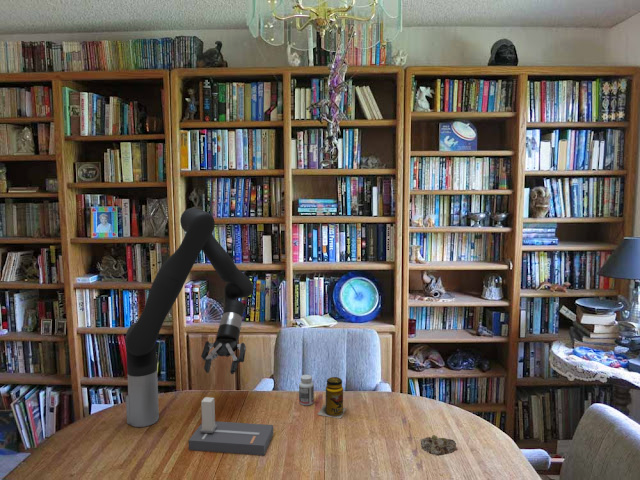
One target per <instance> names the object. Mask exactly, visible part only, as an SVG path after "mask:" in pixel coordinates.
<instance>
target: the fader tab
mask: <svg viewBox="0 0 640 480" xmlns="http://www.w3.org/2000/svg"><path fill="white" fill-rule="evenodd" d="M200 403H201V405H200V406H201V423H202V429H201V430H200V432H203V433H213V432H214V431H215V429H216V428H217V425H215V421H216V413H215V409H216V408H215V406H216V405H215V403H216V402H215V397H207V396H205V397H203V399H202V400H201V402H200Z"/></svg>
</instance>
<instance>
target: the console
mask: <svg viewBox="0 0 640 480" xmlns="http://www.w3.org/2000/svg"><path fill="white" fill-rule="evenodd" d="M215 425H217V428H216V429H215V431H214V432H213V433H203V432H200V430H201V429H202V422H201V424H200V425H199V426H198V427H197V428H196V430H195V431H194V433H193V434H192V436H191V437H190V438H189V439H188V450H189V451H197V452H198V451H199V452H213V453H226V454H240V455H242V454H243V455H255V456H265V454H266V452H267V450H268V447H269V446H270V443H271V440H272V438H273V436H274V424H265V423H264V424H261V423H246V422H245V423H244V422H232V421H231V422H229V421H218V420H217V421H216V420H215Z"/></svg>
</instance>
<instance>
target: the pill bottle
mask: <svg viewBox="0 0 640 480" xmlns="http://www.w3.org/2000/svg"><path fill="white" fill-rule="evenodd" d="M312 380H313V377H312V375H311V374H302V375H301V376H300V381H299V383H298V401H299V404H300V405H302V406H311V405H313V404H314V402H315V389H314V388H315V385H314V384H315V383H314V382H313V381H312Z"/></svg>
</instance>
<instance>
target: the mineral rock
mask: <svg viewBox="0 0 640 480" xmlns="http://www.w3.org/2000/svg"><path fill="white" fill-rule="evenodd" d="M419 441H420V446H421V448H422V449H423V451H424V452H425V451H427V452H426V453H428V452H429V453H428V454H431V455H433V454H435V455H434V456H437V455H445V454H450V453H449V452H451V453H453V452H454V451H456V449H457V443H456V442H455V440H454V439H451V438H446V437H438V436H437V435H435V434H432V436H431V437H430V436H427V437H424V438H421V439H420V440H419Z"/></svg>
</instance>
